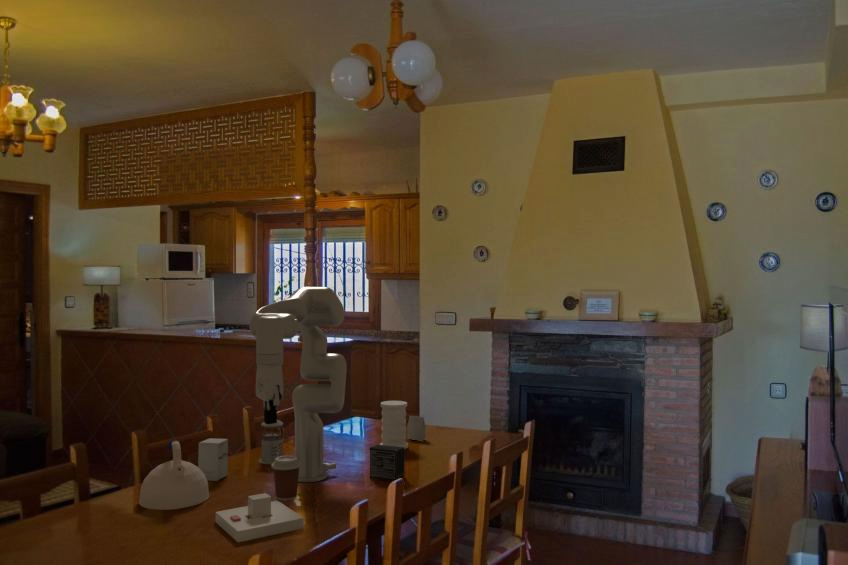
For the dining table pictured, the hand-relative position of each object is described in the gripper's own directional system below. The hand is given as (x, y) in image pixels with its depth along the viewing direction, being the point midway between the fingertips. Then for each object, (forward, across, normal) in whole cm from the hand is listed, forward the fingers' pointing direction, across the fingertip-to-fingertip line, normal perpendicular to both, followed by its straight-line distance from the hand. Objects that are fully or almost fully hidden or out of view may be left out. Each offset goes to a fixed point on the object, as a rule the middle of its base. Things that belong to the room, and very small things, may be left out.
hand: (270, 423), depth 195 cm
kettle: (+26, -28, -20) cm, 43 cm away
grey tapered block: (+30, -53, +86) cm, 106 cm away
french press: (+28, -56, +23) cm, 66 cm away
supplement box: (+27, -45, -3) cm, 52 cm away
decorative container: (+30, -47, +71) cm, 90 cm away
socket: (+25, +8, -7) cm, 28 cm away
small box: (+28, -12, +46) cm, 55 cm away
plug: (+25, +8, -7) cm, 27 cm away
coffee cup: (+27, -11, +9) cm, 30 cm away
